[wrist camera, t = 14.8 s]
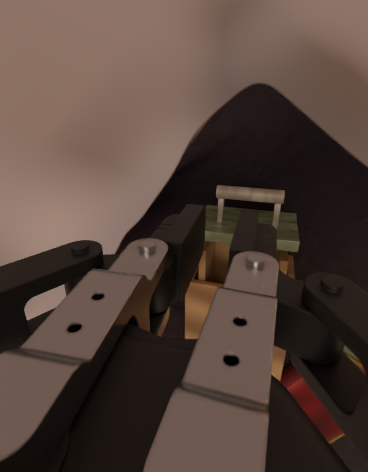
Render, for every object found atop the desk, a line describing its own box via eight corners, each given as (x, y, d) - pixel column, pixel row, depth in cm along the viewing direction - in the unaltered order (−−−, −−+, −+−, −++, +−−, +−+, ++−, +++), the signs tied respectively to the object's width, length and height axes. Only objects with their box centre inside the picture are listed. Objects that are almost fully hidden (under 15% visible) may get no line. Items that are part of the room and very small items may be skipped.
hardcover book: (246, 397, 56) (243, 420, 52) (330, 327, 45) (335, 349, 41) (304, 434, 56) (306, 459, 52) (401, 372, 45) (412, 398, 42)
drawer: (208, 172, 39) (193, 192, 32) (301, 179, 37) (307, 202, 30) (203, 291, 47) (191, 326, 40) (280, 303, 44) (281, 343, 38)
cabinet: (202, 243, 45) (185, 281, 36) (293, 255, 42) (296, 298, 34) (199, 324, 51) (184, 372, 43) (278, 339, 48) (278, 393, 40)
